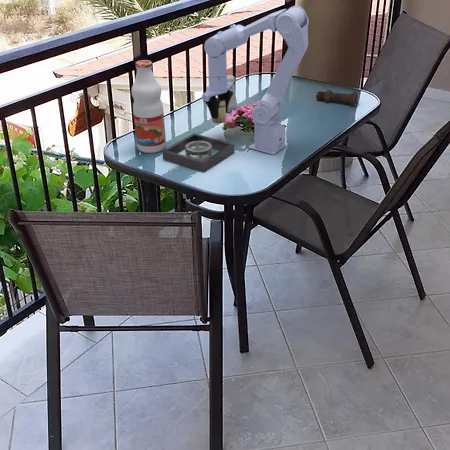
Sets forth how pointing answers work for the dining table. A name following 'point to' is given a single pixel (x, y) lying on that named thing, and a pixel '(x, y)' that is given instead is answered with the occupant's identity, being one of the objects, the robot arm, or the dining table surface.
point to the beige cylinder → (221, 112)
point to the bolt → (338, 97)
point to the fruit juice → (148, 110)
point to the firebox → (198, 152)
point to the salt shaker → (233, 100)
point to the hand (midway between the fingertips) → (219, 115)
